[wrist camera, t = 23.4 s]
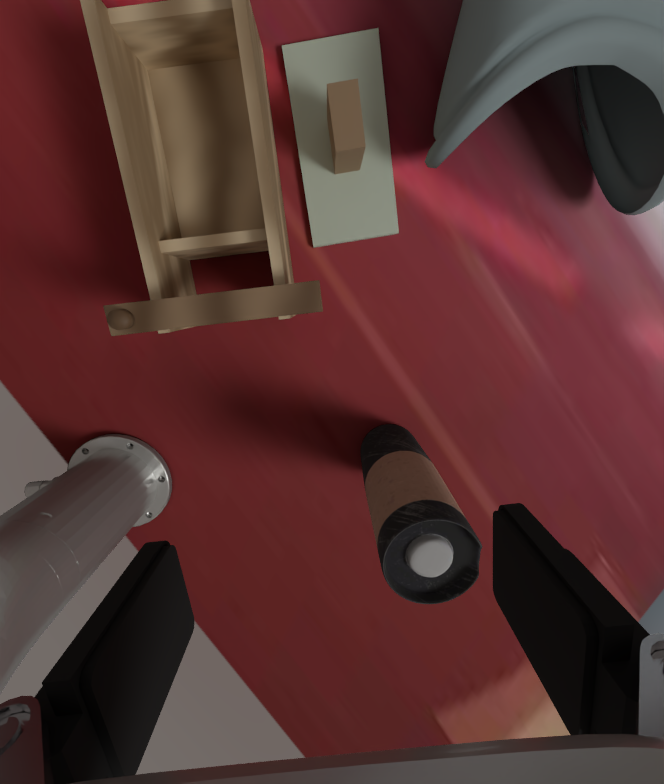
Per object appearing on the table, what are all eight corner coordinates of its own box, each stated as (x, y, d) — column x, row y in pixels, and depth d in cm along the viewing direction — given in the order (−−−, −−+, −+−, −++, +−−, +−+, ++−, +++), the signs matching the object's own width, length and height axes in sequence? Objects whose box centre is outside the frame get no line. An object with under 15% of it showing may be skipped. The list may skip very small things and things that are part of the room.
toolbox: (194, 325, 41) (158, 333, 33) (139, 65, 35) (77, -11, 26) (298, 313, 41) (290, 318, 33) (262, 49, 35) (240, -33, 26)
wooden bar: (124, 333, 33) (102, 337, 30) (116, 305, 32) (94, 306, 29) (322, 310, 32) (322, 312, 29) (319, 281, 32) (318, 279, 29)
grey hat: (687, 9, 34) (884, -139, 22) (602, 224, 40) (722, 201, 28) (465, -53, 33) (543, -247, 21) (409, 179, 39) (445, 134, 26)
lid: (313, 248, 40) (310, 238, 33) (283, 53, 35) (272, -6, 28) (396, 234, 40) (411, 221, 33) (376, 36, 35) (388, -28, 28)
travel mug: (345, 450, 46) (358, 564, 26) (390, 409, 44) (438, 497, 25) (386, 488, 47) (427, 623, 28) (431, 450, 46) (506, 563, 26)
